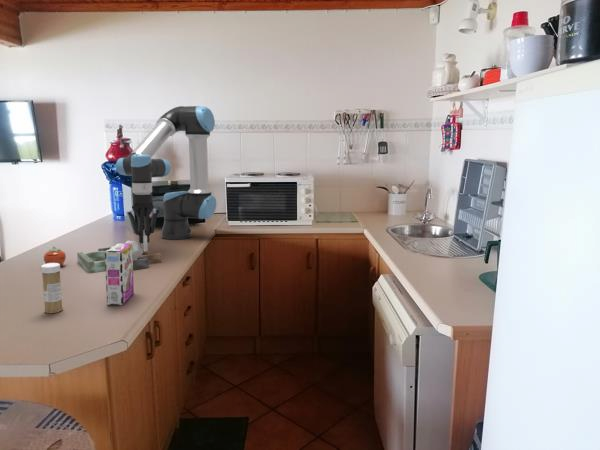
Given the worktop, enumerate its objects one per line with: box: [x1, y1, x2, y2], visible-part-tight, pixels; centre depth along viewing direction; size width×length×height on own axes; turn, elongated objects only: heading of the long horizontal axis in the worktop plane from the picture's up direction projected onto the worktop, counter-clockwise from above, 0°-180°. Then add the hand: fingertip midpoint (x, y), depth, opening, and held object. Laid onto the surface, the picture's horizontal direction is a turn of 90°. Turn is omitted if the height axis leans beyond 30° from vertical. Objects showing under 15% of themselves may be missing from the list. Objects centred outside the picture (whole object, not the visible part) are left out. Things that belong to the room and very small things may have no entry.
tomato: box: [43, 245, 67, 268], centre depth 165 cm, size 7×7×8 cm
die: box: [124, 240, 143, 260], centre depth 177 cm, size 8×9×10 cm
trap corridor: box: [76, 245, 162, 274], centre depth 173 cm, size 27×27×4 cm
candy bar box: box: [104, 242, 135, 306], centre depth 132 cm, size 11×5×16 cm, turn 5°
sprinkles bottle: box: [40, 263, 64, 314], centre depth 121 cm, size 5×5×14 cm
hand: (144, 250), depth 179 cm, fingers closed
